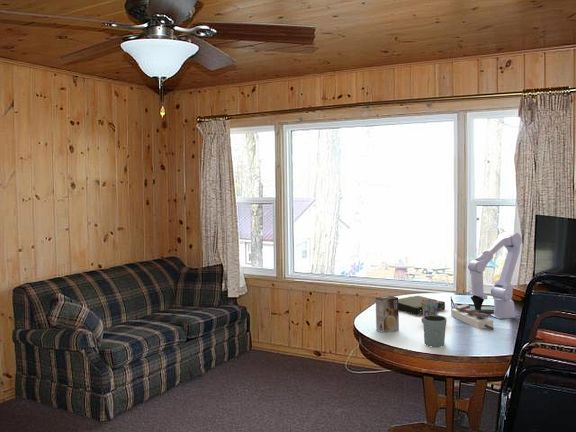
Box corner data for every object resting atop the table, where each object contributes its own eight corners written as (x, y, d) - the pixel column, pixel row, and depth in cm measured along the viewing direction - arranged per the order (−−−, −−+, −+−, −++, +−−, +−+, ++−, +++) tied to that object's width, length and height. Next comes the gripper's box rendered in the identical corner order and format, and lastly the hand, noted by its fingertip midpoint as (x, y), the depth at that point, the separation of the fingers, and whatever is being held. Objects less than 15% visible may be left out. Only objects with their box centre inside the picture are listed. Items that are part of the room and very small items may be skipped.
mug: (438, 324, 283) (437, 303, 282) (419, 323, 287) (418, 302, 286) (441, 318, 294) (441, 298, 293) (422, 317, 298) (422, 297, 297)
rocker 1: (466, 306, 298) (465, 303, 298) (470, 307, 294) (469, 305, 294) (455, 309, 297) (455, 306, 296) (459, 311, 293) (459, 308, 292)
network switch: (421, 317, 299) (421, 307, 299) (387, 309, 318) (387, 300, 317) (448, 309, 314) (448, 300, 314) (414, 302, 332) (414, 294, 332)
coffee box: (391, 327, 281) (390, 295, 279) (399, 330, 275) (398, 297, 274) (375, 330, 276) (375, 297, 275) (383, 333, 271) (383, 299, 270)
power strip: (465, 314, 301) (465, 307, 301) (499, 330, 271) (499, 322, 270) (451, 315, 300) (451, 308, 299) (484, 331, 269) (484, 323, 269)
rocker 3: (483, 315, 282) (483, 313, 282) (487, 317, 278) (488, 314, 278) (472, 314, 281) (473, 311, 281) (476, 316, 277) (477, 313, 277)
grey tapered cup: (431, 339, 259) (431, 313, 258) (451, 344, 251) (451, 317, 250) (418, 344, 252) (418, 317, 251) (437, 349, 245) (437, 322, 244)
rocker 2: (474, 311, 290) (474, 308, 290) (478, 313, 286) (479, 310, 286) (463, 311, 289) (464, 308, 289) (468, 313, 285) (468, 310, 285)
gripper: (462, 282, 293) (463, 308, 294) (477, 287, 279) (478, 314, 280) (474, 280, 295) (475, 306, 296) (490, 286, 281) (491, 313, 282)
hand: (478, 310), depth 288 cm, fingers closed, pressing on rocker 2
